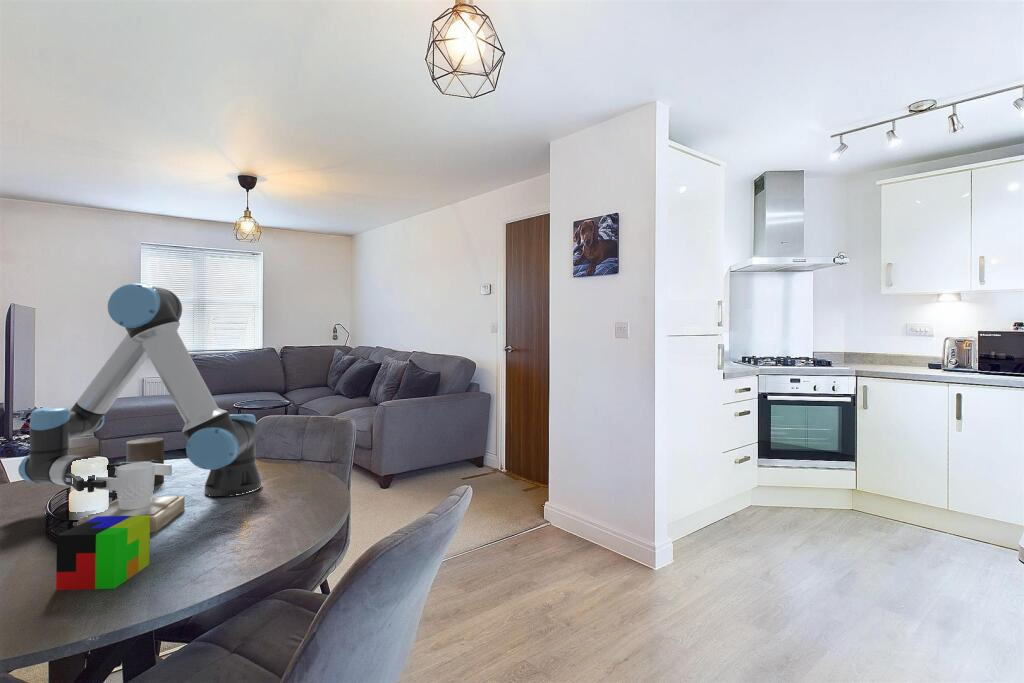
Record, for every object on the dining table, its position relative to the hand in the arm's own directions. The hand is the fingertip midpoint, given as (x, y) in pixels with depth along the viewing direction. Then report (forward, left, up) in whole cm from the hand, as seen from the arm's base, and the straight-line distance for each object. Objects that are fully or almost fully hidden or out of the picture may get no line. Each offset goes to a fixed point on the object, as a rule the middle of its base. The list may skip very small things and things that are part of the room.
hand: (146, 477), depth 124 cm
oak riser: (+3, -1, -12) cm, 12 cm away
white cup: (+3, -1, -8) cm, 8 cm away
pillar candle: (+17, -38, -12) cm, 44 cm away
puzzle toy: (-6, +30, -12) cm, 32 cm away
